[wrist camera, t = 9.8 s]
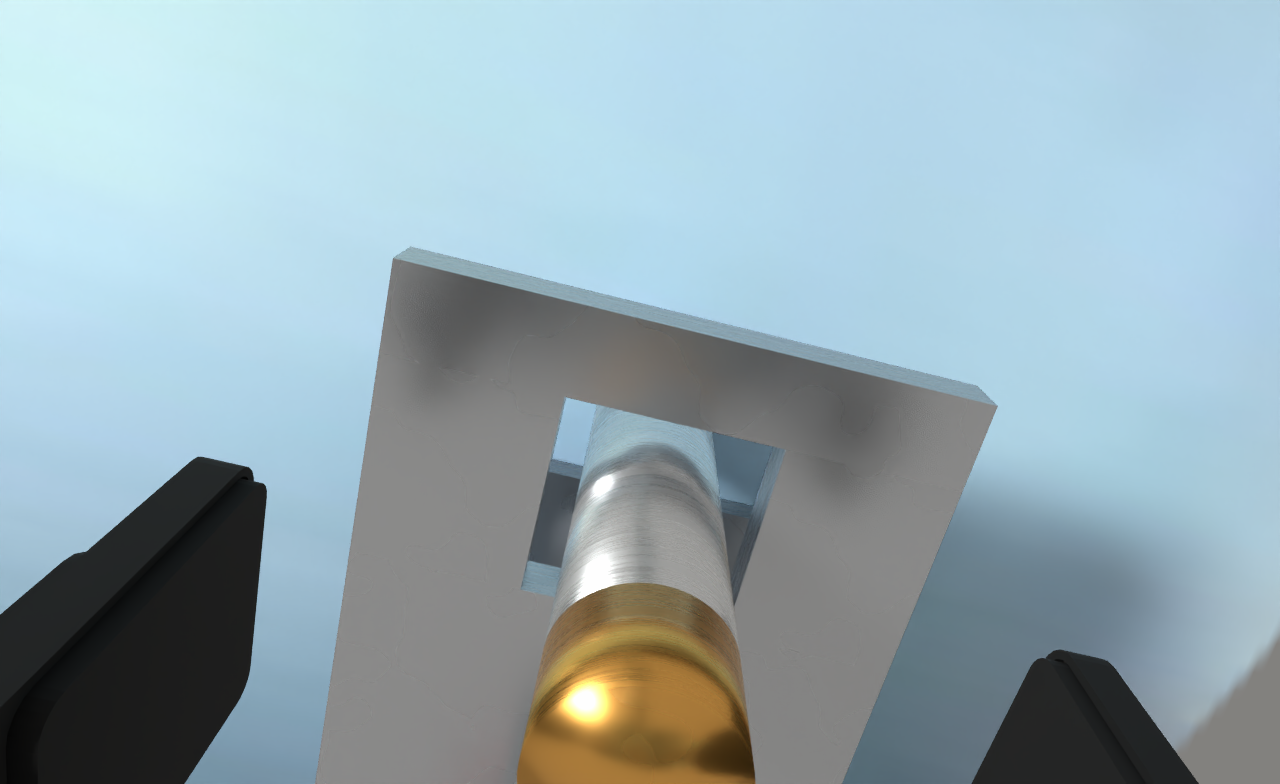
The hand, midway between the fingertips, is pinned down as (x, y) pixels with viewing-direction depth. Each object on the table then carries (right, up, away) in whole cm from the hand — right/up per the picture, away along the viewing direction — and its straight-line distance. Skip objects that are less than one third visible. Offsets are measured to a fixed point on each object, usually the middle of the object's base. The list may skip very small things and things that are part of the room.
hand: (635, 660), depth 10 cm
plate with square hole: (-1, -3, +15) cm, 15 cm away
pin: (0, +4, +12) cm, 13 cm away
